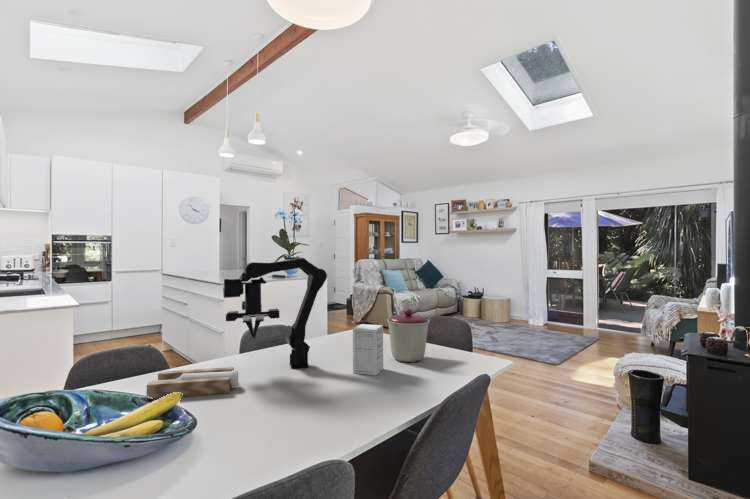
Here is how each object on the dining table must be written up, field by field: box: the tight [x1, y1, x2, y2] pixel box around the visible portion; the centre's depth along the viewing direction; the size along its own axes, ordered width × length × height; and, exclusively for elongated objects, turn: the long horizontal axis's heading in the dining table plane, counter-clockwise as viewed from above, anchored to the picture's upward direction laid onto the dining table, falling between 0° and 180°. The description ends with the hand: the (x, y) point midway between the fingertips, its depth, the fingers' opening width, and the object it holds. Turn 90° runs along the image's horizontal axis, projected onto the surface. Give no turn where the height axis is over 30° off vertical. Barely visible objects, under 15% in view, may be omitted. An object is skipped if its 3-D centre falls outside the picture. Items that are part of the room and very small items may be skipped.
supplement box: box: [352, 323, 384, 376], centre depth 141 cm, size 10×9×17 cm
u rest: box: [146, 366, 235, 401], centre depth 120 cm, size 23×13×4 cm, turn 104°
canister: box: [386, 308, 431, 363], centre depth 157 cm, size 18×18×21 cm
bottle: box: [151, 369, 239, 388], centre depth 119 cm, size 5×5×25 cm
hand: (253, 337), depth 139 cm, fingers closed
